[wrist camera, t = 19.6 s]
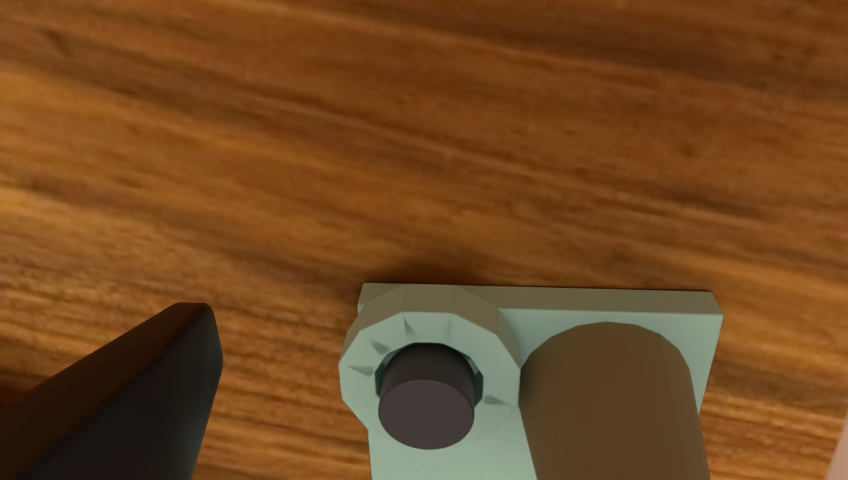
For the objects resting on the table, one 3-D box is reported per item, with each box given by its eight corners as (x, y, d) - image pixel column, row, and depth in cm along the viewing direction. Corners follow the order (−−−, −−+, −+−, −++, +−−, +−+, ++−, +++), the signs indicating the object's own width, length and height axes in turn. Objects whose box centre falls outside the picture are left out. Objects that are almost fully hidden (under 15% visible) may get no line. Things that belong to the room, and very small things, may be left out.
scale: (717, 267, 23) (748, 321, 20) (657, 520, 29) (674, 587, 27) (348, 258, 23) (332, 310, 21) (369, 506, 30) (359, 569, 27)
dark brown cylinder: (476, 344, 22) (475, 381, 20) (474, 412, 23) (473, 452, 22) (382, 341, 22) (375, 378, 20) (386, 409, 23) (380, 448, 22)
